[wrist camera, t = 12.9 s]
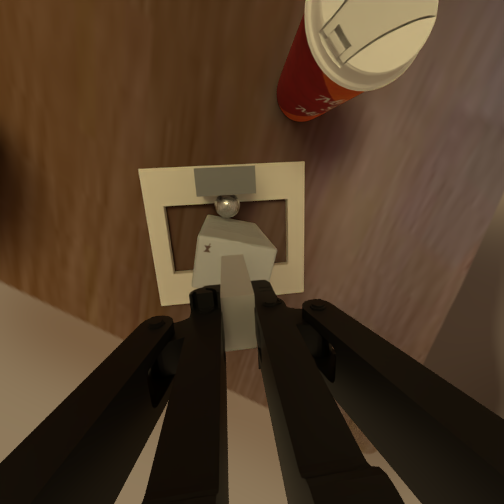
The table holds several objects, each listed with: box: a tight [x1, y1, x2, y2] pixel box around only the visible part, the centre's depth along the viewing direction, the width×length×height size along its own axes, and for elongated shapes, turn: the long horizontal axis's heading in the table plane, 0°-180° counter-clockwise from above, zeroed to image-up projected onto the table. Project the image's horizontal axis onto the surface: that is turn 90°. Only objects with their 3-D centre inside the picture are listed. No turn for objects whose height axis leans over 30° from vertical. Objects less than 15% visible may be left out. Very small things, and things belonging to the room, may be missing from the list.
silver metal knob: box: [215, 195, 240, 218], centre depth 25 cm, size 5×3×3 cm, turn 3°
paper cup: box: [277, 0, 439, 122], centre depth 20 cm, size 8×8×14 cm
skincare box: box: [192, 215, 277, 288], centre depth 24 cm, size 6×4×12 cm
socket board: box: [138, 161, 305, 306], centre depth 27 cm, size 16×18×6 cm
